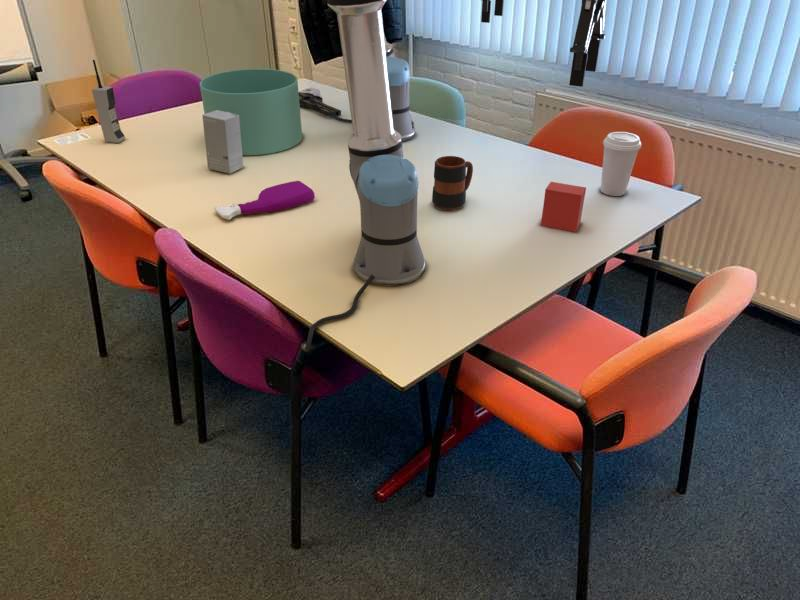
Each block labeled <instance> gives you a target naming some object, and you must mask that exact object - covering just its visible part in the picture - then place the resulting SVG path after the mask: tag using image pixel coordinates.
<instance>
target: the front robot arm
mask: <svg viewBox="0 0 800 600" xmlns="http://www.w3.org/2000/svg"><path fill="white" fill-rule="evenodd" d="M387 1H388V0H326V3H327V6H328V7H329V8H330V9H331V10H332V11H333V12H335V14H336V17H337V23H338V31H339V39H340V46H341V53H342V60H343V67H344V74H345V83H346V89H347V97H348V103H349V104H348V105H349V111H350V118H351V119H350V120H352V123H351V125H352V132H353V133H352V134H351V136H350V137H349V138H348V140H347V148H348V154H349V161H348V162H349V164H348V166H349V167H348V169H349V175H350V177H351V180H352V182H353V184H354V188H355V191H356V194H357V197H358V200H359V206H360V207H359V208H360V211H359V212H360V239H359V242H358V247H357V249H356V252H355V256H354V259H353V270H354V273H355V275H356V276H357V277H358V278H359V279H360V280H362V281H364V283H363V285H362V286H361V287H360V289H359V290H358V291H357V293H356V294H355V296H354V297H353V301H352V304H351V307H350V308H349V309H348V310H347V311H345V312H342V313H339V314H334V315H329V316H325V317H322V318H320V319H318V320H317V321H316V322H314V323H313V324H312V325H311V326H310V327H309V330H308V334H307V338H306V339H307V340H306V343H305V347H304V350H305V351H308V350H310V349H311V345H312V341H313V337H314V332H315V330H316V329H317V328H318V327H319V326H320V325H322V324H324V323H327V322H331V321H335V320H341V319H345V318H346V317H348V316H351V315H352V314H353V313H354V312H355V310H356V309H357V306H358V302H359V299H360V298H361V296H362V295H363V293H364V292H365V291H366V289H368V287H369V286H370V285H371V284H372V285H376V286H382V287H395V286H402V285H406V284H410V283H413V282H415V281H417V280H418V279H420V278H421V276H423V274H424V273H425V270H426V261H425V255H424V252H423V250H422V247H421V244H420V241H419V238H418V195H419V194H418V190H419V184H420V183H419V178H418V171H417V170H418V169H417V168H416V166H415V165H414V163H413V162H411V160H409V159H407V158H405V157H404V149H403V148H404V147H403V142H402V137H401V135H400V134H399V133H398V132H397V131H396V130H394V128H393V119H392V109H391V99H390V89H389V79H388V69H387V59H386V50H385V40H384V35H385V31H384V20H383V12H382V9H383V7H384V5H385V3H386V2H387ZM606 6H607V0H581V6H580V12H579V16H578V21H577V25H576V30H575V34H574V38H573V43H572V47H570V48H569V52H570V53H573V54H572V55H573V56H572V61H571V69H570V76H569V86H571V87H582V88H583V87H584V83H585V76H586V72H594V73H595V72H596V71H597V65H598V59H599V55H600V54H599V53H600V47H601V40H605V38H606V34H605V33H604V32H605V30H604V29H605V18H606Z"/></svg>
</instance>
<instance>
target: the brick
mask: <svg viewBox="0 0 800 600" xmlns="http://www.w3.org/2000/svg"><path fill="white" fill-rule="evenodd" d="M586 191H587V187H585V186H579V185H574V184H568V183H562V182H556V181H550V182H549V184H548V185H547V186H546V187H545V190H544V198H543V205H542V214H541V220H540V226H542V227H547V228H552V229H557V230H558V229H559V230H563V231H569V232H573V233H577V230H578V229H579V227H580V226H581V225H580V224H581V223H582V215H583V209H584V204H585V203H584V202H585V197H586Z"/></svg>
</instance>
